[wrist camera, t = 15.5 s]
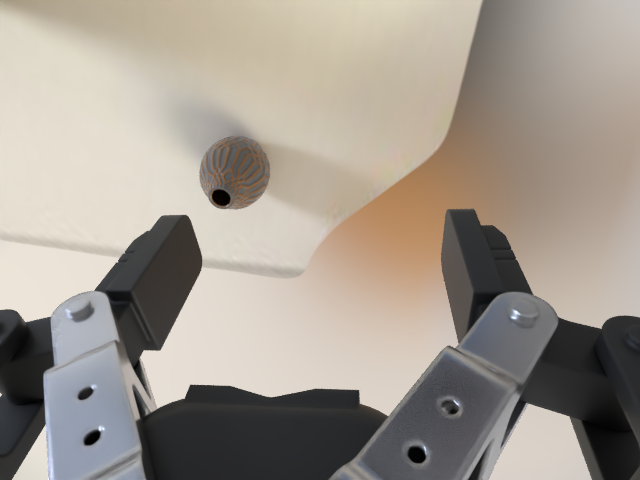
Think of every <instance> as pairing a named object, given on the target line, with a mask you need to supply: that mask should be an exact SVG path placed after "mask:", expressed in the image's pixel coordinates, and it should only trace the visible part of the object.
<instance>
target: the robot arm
mask: <svg viewBox="0 0 640 480" xmlns="http://www.w3.org/2000/svg"><path fill="white" fill-rule="evenodd" d="M441 262H442V272H443V276H444V281H445V285H446V290H447V294H448V298H449V303H450V307H451V312H452V316H453V320H454V325H455V329H456V334H457V338H458V343H459V345H458V346H457V347H456V348H453V347H451V346H447V347H445V348H444V349H443V350H442V351H441V352H440V353H439V355H438V356H437V357H436V358H435V359H434V361H433V362H432V363H431V364H430V366H429V367H428V368H427V369H426V371H425V372H424V373H423V374H422V376H421V377H420V378H419V379H418V380H417V382H416V383H415V384H414V385H413V387H412V388H411V389H410V390H409V392H408V393H407V394H406V395H405V397H404V398H403V399H402V400H401V402H400V403H399V404H398V405H397V406H396V408H395V409H394V410H393V411H392V413H391V414H390V415H389V416H387V415H385V414H383V413H381V412H380V411H378V410H375V409H373V408H371V407H368V406H365V405H362V404H360V400H359V399H360V398H359V390H337V389H313V390H307V391H303V392H297V393H292V394H287V395H282V396H277V397H265V396H262V395H258V394H255V393H252V392H248V391H245V390H242V389H238V388H235V387H232V386H214V385H213V386H212V385H190V387H189V390H188V392H187V394H186V397H185V399H181V400H178V401H175V402H172V403H169V404H167V405H165V406H162V407H160V408H158V409H157V406H156V404H155V400H154V397H153V394H152V391H151V387H150V384H149V381H148V378H147V375H146V372H145V368H144V365H143V363H142V361H141V359H140V356H141V354H142V352H143V351H144V350H161V348H162V346H163V344H164V342H165V340H166V338H167V336H168V334H169V332H170V330H171V328H172V326H173V325H174V322H175V321H176V318H177V317H178V315H179V313H180V311H181V309H182V307H183V305H184V303H185V301H186V299H187V297H188V295H189V293H190V291H191V289H192V287H193V285H194V283H195V281H196V279H197V277H198V276H199V274H200V271H201V268H202V255H201V251H200V248H199V245H198V242H197V239H196V236H195V233H194V230H193V227H192V223H191V221H190V219H189V217H188V216H187V215H164V216H161V217H160V218H159V220H158V221H157V222H156V224H155V225H154V226H153V227H152V229H151V230H150V231H147V232H145V233H144V234H142V235H141V236H139V237H138V238H137V239H135V240H134V241H133V242H132V243H131V245H130V246H129V247H128V248H127V250H126V251H125V254H123V255H122V256H121V257H120V259H119V260H118V263H116V264H115V265H114V266H113V268H112V269H111V270H110V271H109V273H108V274H107V275H106V276H105V278H104V279H103V280H102V281H101V283H100V284H99V285H98V286H97V288H96V289H95V290H94V291H90V292H84V293H81V294H78V295H76V296H73V297H71V298H69V299H68V300H66V301H65V302H63V303H62V304H61V305H59V306H58V307H57V309H56V310H55V311H54V313H53V314H52V316H51V317H47V318H43V319H39V320H34V321H30V322H25V321H24V320H23V319H22V317H21V316H20V315H19V313H18V312H17V311H14V310H0V393H1V394H2V396H1V397H0V480H12V478H13V477H14V475H15V474H16V472H17V470H18V469H19V467H20V465H21V464H22V462H23V460H24V459H25V457H26V455H27V454H28V452H29V451H30V449H31V447H32V446H33V444H34V442H35V441H36V439H37V437H38V436H39V434H40V433H41V431H42V429H43V428H44V426H45V424H46V438H47V457H48V476H49V480H488V479H489V478H490V475H491V473H492V471H493V469H494V466H495V464H496V462H497V460H498V458H499V456H500V454H501V452H502V450H503V449H504V447H505V445H506V443H507V442H508V440H509V438H510V436H511V434H512V432H513V431H514V429H515V427H516V425H517V423H518V422H519V420H520V418H521V416H522V414H523V412H524V411H525V409H526V407H527V405H528V404H532V405H535V406H538V407H542V408H545V409H548V410H551V411H555V412H557V413H561V414H564V415H567V416H570V419H571V422H572V425H573V428H574V430H575V433H576V436H577V439H578V442H579V444H580V447H581V450H582V453H583V456H584V458H585V461H586V464H587V467H588V469H589V472H590V475H591V478H592V480H640V318H639V317H634V316H616V317H612V318H610V319H608V320H607V321H606V322H605V323H604V324H603V326H602V329H599V328H595V327H590V326H587V325H582V324H577V323H574V322H570V321H567V320H564V319H561V318H559V317H558V316H557V314H556V312H555V310H554V309H553V308H552V307H551V306H550V305H549V304H548V303H547V302H545V301H544V300H542V299H541V298H538V297H537V296H534V295H533V293H532V291H531V289H530V287H529V285H528V283H527V280H526V278H525V276H524V274H523V272H522V270H521V268H520V266H519V263H518V261H517V260H516V257H515V255H514V253H513V251H512V250H511V246H510V244H509V242H508V240H507V238H506V236H505V235H504V234H503V233H502V232H500V231H499V230H498V229H497V228H496V227H494V226H493V225H488V226H487V225H486V226H481V225H480V222H479V220H478V217H477V215H476V212H475V210H474V209H448V210H447V211H446V216H445V225H444V234H443V243H442V253H441Z"/></svg>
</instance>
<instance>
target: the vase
mask: <svg viewBox="0 0 640 480" xmlns="http://www.w3.org/2000/svg"><path fill="white" fill-rule="evenodd" d="M269 177H270V166H269V161H268V158H267V156H266V154H265V152H264V151H263V150H262V148H261V147H260V146H259V145H258V144H256V143H255V142H254V141H252V140H250V139H247V138H244V137H228V138H224V139H222V140H220V141H218V142H216V143H215V144H214V145H213V146H212V147H211V148H210V149H209V150H208V151H207V152H206V154H205V155H204V157H203V159H202V162H201V166H200V183H201V186H202V189H203V191H204V193H205V194H206V196H207V197H208V198H209V200H210V202H211V203H212V204H213V205H214V206H215V207H217V208H220V209H241V208H244V207H247V206H249V205H251V204H253V203H254V202H255V201H257V200H258V199H259V198H260V197H261V195H262V194H263V193H264V191H265V189H266V187H267V185H268V182H269Z"/></svg>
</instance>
